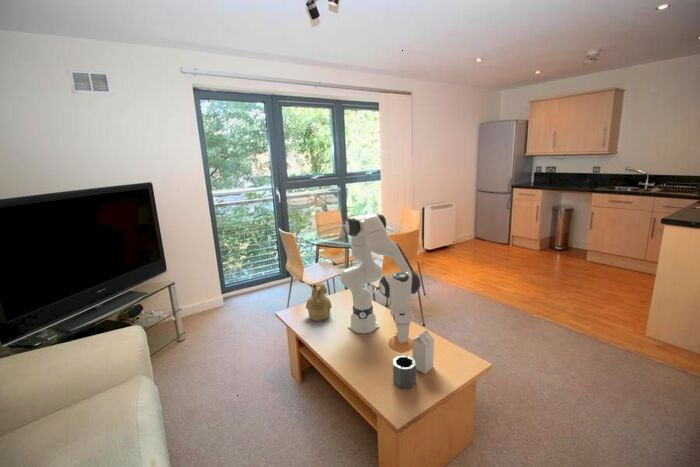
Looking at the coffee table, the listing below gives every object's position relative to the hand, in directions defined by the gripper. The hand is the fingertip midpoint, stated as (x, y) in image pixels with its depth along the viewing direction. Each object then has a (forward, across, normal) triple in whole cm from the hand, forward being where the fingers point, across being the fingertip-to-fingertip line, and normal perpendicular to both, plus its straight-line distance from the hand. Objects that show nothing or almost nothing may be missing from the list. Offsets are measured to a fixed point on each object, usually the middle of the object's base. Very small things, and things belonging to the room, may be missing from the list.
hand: (401, 339), depth 138 cm
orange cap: (+4, 0, 0) cm, 4 cm away
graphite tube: (+21, 0, +1) cm, 21 cm away
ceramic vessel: (+21, -62, -47) cm, 81 cm away
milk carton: (+22, -10, +11) cm, 26 cm away
